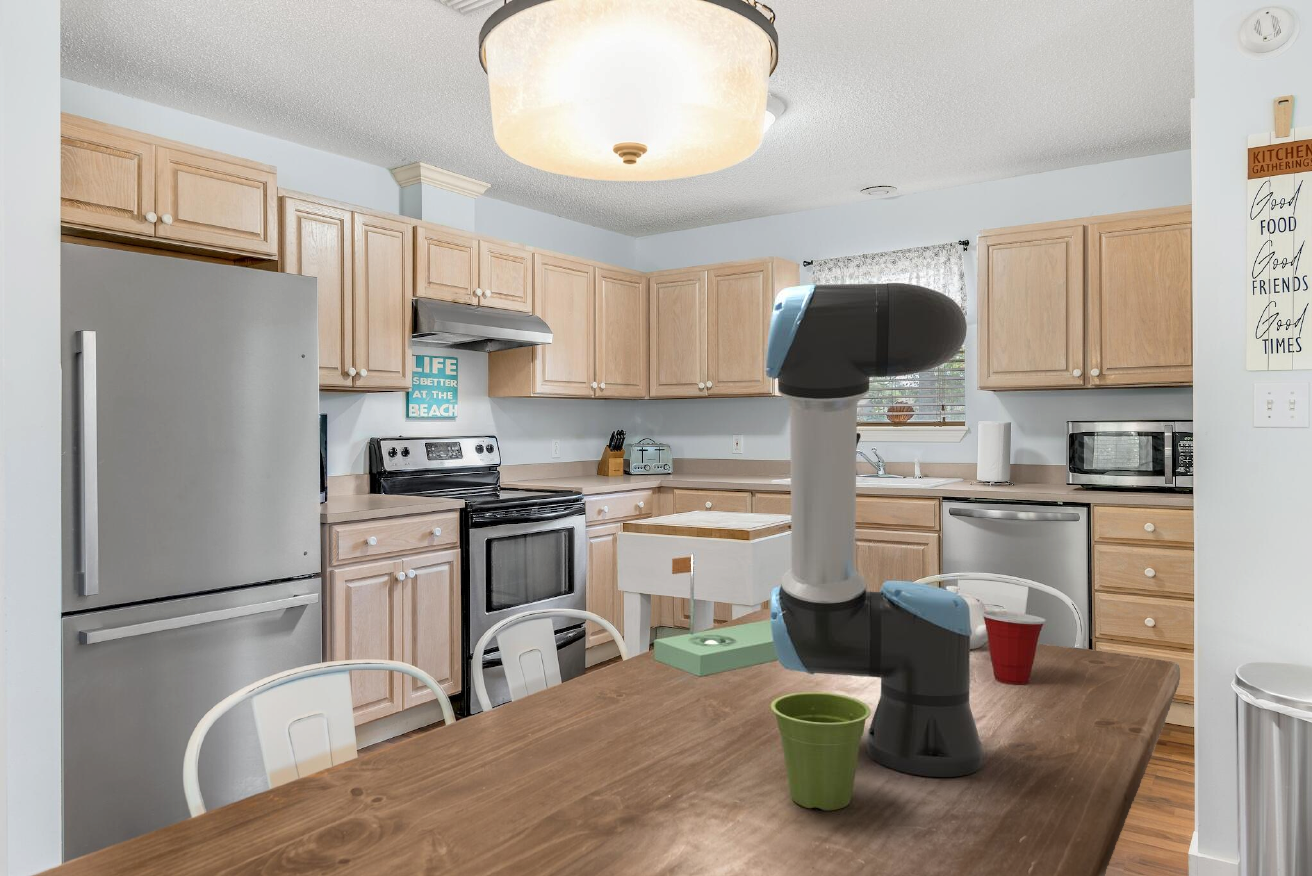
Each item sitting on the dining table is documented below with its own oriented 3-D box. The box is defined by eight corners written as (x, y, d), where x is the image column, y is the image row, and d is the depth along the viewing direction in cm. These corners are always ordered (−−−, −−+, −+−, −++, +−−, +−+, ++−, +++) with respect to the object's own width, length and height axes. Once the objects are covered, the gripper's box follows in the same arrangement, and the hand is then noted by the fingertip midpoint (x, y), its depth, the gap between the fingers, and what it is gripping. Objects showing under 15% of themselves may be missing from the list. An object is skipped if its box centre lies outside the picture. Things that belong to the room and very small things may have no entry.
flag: (673, 637, 167) (673, 556, 167) (670, 637, 168) (671, 556, 168) (694, 634, 170) (694, 554, 170) (691, 633, 171) (692, 553, 171)
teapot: (885, 637, 186) (885, 581, 186) (934, 628, 194) (934, 574, 194) (980, 665, 164) (980, 601, 164) (1032, 653, 172) (1032, 593, 172)
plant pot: (800, 771, 112) (801, 685, 112) (886, 796, 104) (887, 704, 104) (751, 801, 102) (752, 708, 102) (841, 831, 95) (842, 730, 95)
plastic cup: (1057, 682, 153) (1058, 615, 152) (1023, 692, 146) (1024, 623, 146) (1002, 668, 161) (1003, 605, 161) (967, 677, 155) (968, 611, 155)
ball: (719, 667, 164) (707, 658, 162) (706, 661, 167) (693, 653, 165) (728, 648, 165) (716, 639, 163) (715, 643, 168) (702, 634, 166)
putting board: (699, 676, 154) (700, 655, 154) (653, 659, 166) (654, 639, 166) (821, 650, 173) (821, 631, 173) (772, 636, 185) (772, 619, 185)
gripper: (827, 391, 149) (825, 527, 148) (873, 395, 157) (871, 523, 157) (794, 393, 154) (793, 523, 154) (840, 397, 163) (839, 520, 162)
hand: (832, 523), depth 155 cm, fingers closed
